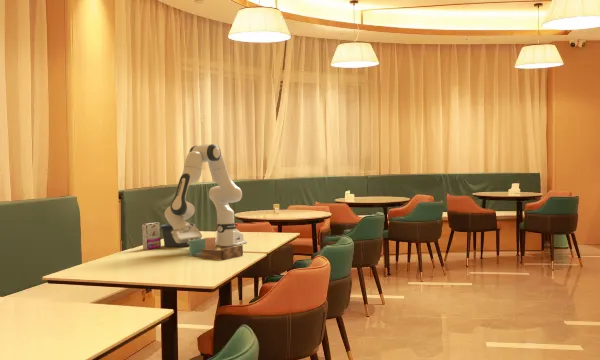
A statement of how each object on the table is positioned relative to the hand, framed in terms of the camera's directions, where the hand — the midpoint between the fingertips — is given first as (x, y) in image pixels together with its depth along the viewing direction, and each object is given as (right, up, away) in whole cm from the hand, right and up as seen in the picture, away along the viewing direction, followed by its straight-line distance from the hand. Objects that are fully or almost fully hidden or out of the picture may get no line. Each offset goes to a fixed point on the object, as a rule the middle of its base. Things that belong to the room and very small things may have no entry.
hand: (194, 245), depth 389 cm
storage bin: (-17, -4, +40) cm, 43 cm away
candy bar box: (-32, -5, +28) cm, 43 cm away
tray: (+10, -5, -7) cm, 13 cm away
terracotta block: (+11, -3, -7) cm, 13 cm away
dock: (+18, -5, -12) cm, 22 cm away
